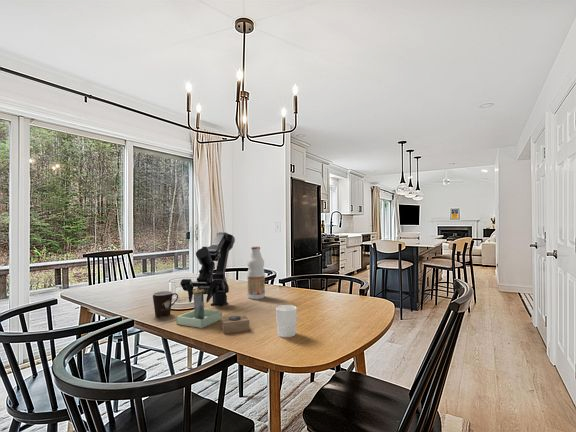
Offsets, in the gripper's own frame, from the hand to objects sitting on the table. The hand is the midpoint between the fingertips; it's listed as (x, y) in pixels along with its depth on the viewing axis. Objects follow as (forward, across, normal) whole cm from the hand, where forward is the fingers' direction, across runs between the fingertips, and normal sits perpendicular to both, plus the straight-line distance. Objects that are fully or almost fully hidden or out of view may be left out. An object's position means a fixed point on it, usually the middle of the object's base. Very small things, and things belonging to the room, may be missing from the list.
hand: (198, 302), depth 140 cm
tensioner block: (+12, -18, -1) cm, 21 cm away
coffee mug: (-1, +19, -14) cm, 23 cm away
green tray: (+5, 0, -7) cm, 9 cm away
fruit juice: (-25, -17, -38) cm, 48 cm away
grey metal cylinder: (+5, 0, -7) cm, 8 cm away
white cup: (+15, -39, +3) cm, 42 cm away
